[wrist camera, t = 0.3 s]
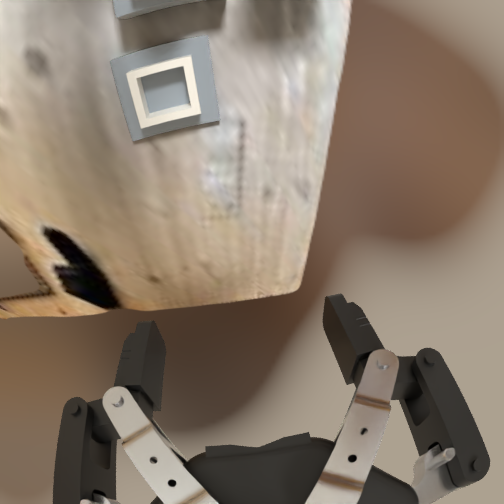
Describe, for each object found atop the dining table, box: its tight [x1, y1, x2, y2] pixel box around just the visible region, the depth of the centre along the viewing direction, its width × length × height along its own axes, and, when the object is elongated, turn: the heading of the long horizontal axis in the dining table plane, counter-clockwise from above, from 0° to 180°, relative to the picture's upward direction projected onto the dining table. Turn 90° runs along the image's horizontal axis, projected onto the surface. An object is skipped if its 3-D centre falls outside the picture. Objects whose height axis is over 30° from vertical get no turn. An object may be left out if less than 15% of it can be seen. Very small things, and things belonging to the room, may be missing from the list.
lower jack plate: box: [110, 35, 220, 141], centre depth 27 cm, size 12×12×4 cm
